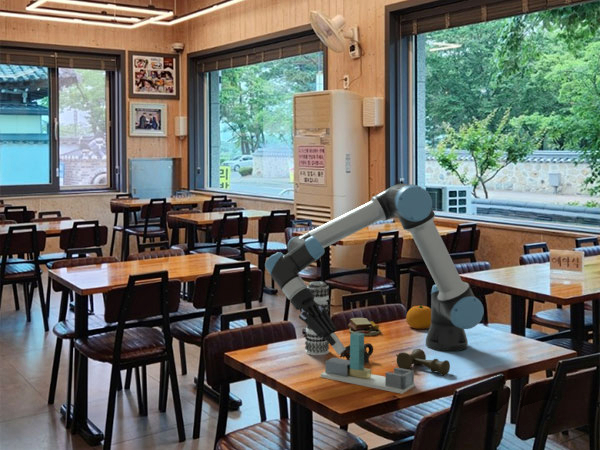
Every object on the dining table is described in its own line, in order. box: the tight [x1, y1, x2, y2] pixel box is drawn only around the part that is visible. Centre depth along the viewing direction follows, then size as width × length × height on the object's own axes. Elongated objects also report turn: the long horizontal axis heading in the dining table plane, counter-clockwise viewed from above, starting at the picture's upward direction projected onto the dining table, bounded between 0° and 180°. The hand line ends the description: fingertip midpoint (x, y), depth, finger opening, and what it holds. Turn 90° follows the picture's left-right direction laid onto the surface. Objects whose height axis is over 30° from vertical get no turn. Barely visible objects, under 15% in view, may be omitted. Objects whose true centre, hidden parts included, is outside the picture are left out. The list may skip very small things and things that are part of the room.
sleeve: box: [324, 357, 350, 377], centre depth 237 cm, size 8×5×4 cm, turn 56°
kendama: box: [395, 348, 451, 377], centre depth 245 cm, size 6×10×20 cm
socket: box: [385, 366, 415, 390], centre depth 225 cm, size 6×7×4 cm
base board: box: [320, 371, 416, 395], centre depth 232 cm, size 28×9×1 cm, turn 56°
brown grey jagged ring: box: [339, 342, 374, 366], centre depth 253 cm, size 12×10×8 cm
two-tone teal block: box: [348, 332, 372, 379], centre depth 234 cm, size 14×3×13 cm, turn 56°
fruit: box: [405, 303, 431, 330], centre depth 301 cm, size 12×12×10 cm
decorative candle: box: [304, 281, 331, 356], centre depth 264 cm, size 9×9×25 cm
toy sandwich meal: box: [347, 317, 381, 337], centre depth 294 cm, size 12×14×5 cm
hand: (342, 351), depth 236 cm, fingers closed
